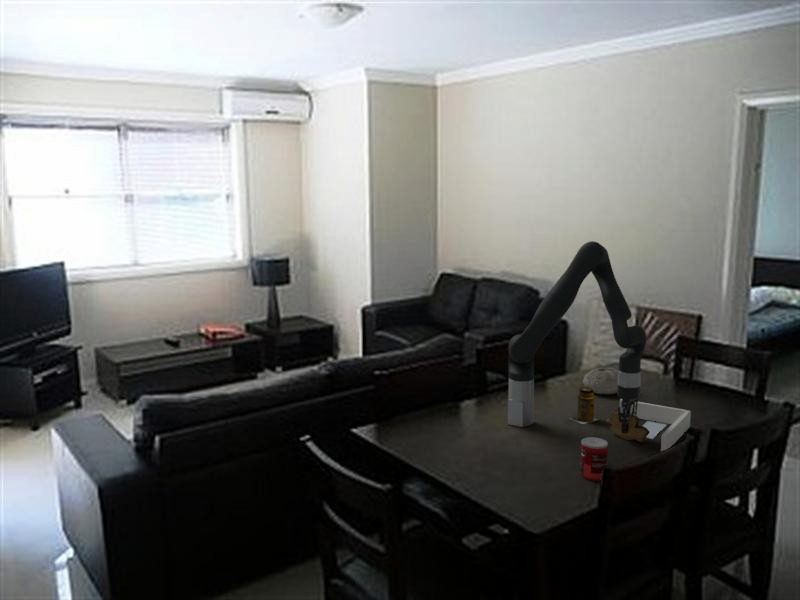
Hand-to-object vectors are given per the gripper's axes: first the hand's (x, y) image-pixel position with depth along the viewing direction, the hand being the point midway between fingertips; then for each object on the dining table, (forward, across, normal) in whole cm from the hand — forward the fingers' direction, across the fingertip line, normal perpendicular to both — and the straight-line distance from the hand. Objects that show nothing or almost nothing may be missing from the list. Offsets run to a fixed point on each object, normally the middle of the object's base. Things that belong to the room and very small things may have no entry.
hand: (627, 430), depth 240 cm
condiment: (+3, -10, -20) cm, 23 cm away
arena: (+3, -9, +2) cm, 10 cm away
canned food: (+3, +36, +2) cm, 36 cm away
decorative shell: (+3, -48, -26) cm, 55 cm away
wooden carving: (+3, 0, 0) cm, 3 cm away
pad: (+3, -12, +4) cm, 13 cm away
